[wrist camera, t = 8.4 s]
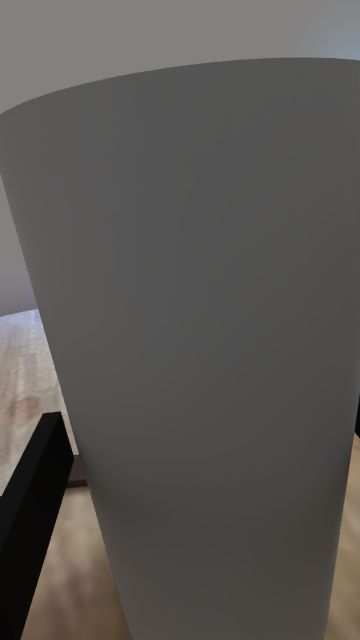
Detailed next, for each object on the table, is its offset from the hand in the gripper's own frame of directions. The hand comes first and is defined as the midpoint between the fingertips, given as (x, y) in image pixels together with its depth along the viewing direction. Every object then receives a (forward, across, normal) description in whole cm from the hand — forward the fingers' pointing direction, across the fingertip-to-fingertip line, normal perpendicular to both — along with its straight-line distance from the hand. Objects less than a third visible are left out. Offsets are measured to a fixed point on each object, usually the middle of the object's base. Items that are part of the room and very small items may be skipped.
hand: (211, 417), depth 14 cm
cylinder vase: (+1, 0, -14) cm, 14 cm away
